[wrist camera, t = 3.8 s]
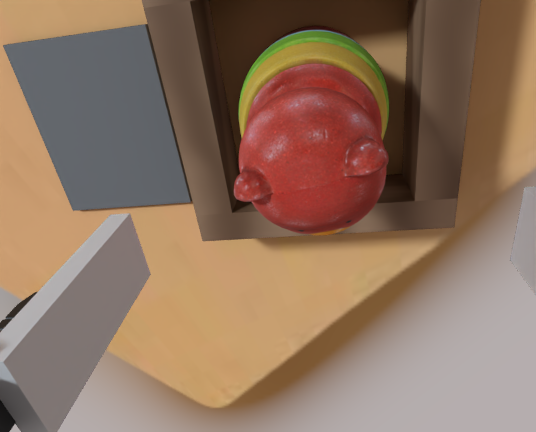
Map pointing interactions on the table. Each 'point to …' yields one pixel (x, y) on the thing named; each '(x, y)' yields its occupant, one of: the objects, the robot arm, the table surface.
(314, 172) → the stacking bear
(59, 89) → the rubber mat
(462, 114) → the square wooden frame
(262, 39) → the table surface
